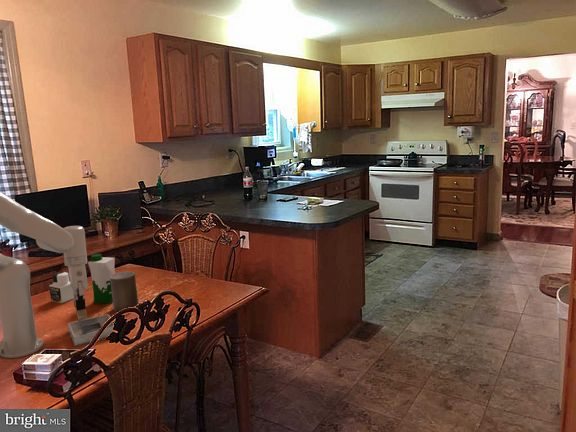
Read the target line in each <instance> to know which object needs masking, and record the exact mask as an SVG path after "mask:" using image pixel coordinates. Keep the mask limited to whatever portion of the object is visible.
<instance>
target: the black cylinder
mask: <svg viewBox="0 0 576 432" xmlns="http://www.w3.org/2000/svg"><path fill="white" fill-rule="evenodd" d="M77 291H79V290H77ZM77 294H79V293H77ZM73 296H74V299H73V302H74V301H75V300H76V294H75V292H74V291H73ZM75 306H76V302H75ZM75 306H74V307H75ZM75 312H76V317H77V321H79V320H84V319H88V313H87V308H86V309H83V310H78V311H77V310H76V309H75Z"/></svg>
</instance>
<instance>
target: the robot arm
mask: <svg viewBox="0 0 576 432" xmlns="http://www.w3.org/2000/svg"><path fill="white" fill-rule="evenodd" d="M0 226H2V227H3V228H6V229H7V230H8V231H11V232H13V233H16V234H19V235H22V236H26V237H27V238H28V237H29V238H32V239H34V240H35V243H36V245H37V246H38V247H39V248H40V249H42V250H45V251H50V252H55V253H59V254H63V260H64V261H63V262H64V267H65V266H66V267H68V277H69V282H70V284H71V288H72V290H73V291H74V292H75V294H76V300H75V301H74V300H73V304H74V307H75V311H76V310H77V311H78V310H83V309H86V310H87V307H86V305H87V304H86V298H85V292H89V283H88V277H87V268H86V265H87V264H88V255H87V244H86V243H87V242H86V231H85V227H83V226H81V225H70V226H69V225H68V226H66V227H61V226H60V225H58V224H57V223H55V222H53V221H51V220H50V219H48V218H45V217H43V216H42V215H40V214H38V213H36V212H35V211H33V210H31V209H29V208H26V207H25V206H24V205H21V204H20V203H18V202H17V201H15V200H14V199H12V198H11V197H9V196H7V195H6V194H4V193H3V192H1V191H0ZM77 290H79V291H77ZM77 293H79V294H77ZM31 296H32V295H31V271H30V268H29V267H28V265H27V264H26V263H25V262H24V261H23V260H21V259H19V258H16V257H12V256H8V255H7V256H6V255H4V254H2V253H0V326H1V327H0V328H1V333H2V338H1V339H2V340H0V356H1V357H2V358H3V359H4V358H5V359H16V358H22V357H23V358H24V357H26V356H29V355H32V354H34V353H36V352H38V351H40V350H41V349H42V348H43V346H44V341H43V339H41V338H40V337H38V334H37V328H36V322H35V316H34V308H33V302H32V297H31ZM75 302H76V306H75Z"/></svg>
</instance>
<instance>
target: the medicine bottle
mask: <svg viewBox="0 0 576 432" xmlns="http://www.w3.org/2000/svg"><path fill="white" fill-rule="evenodd" d="M48 287H49V294H50V301H51V302H54V303H58V304H64V303H66V302H68V301H72V300H74V296H73V290H72V288H71V284H70V278H69V272H67V271H58V272H55V273H53V274H52V284H49V286H48Z"/></svg>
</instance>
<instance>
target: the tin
mask: <svg viewBox="0 0 576 432" xmlns="http://www.w3.org/2000/svg"><path fill="white" fill-rule="evenodd" d="M110 317H111V315H110V314H109V313H107V314H101V315H96V316H92V317H89V318H88V317H87V318H88V319H84V320H75V321H71V322H68V323H67V328H68V334H69V336H70V338H71V340H72V343H73V345H74V347H75V348H76V347H81V346H84V345H88V344H90V343H89V342H90V341H91V339H92V338H93V337H94V335H95V334H96V333H97V331H98V330H99V329H100V328H101V327H102V326H103V324H104V323H105V322H106V321H107V320H108V319H109V318H110ZM114 323H115V322H114ZM114 323H113V322H112V323H111V324H110V325H109V326H108V327H107V328H106V329H105V331H104V332H103V333H102V335H101V336H100V338H99V340H100V341H103V340H102V339H104V340H106V339H105V338H106V337H107V336H108V335H109V334H110V333H112V332H115V331H113V324H114Z"/></svg>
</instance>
